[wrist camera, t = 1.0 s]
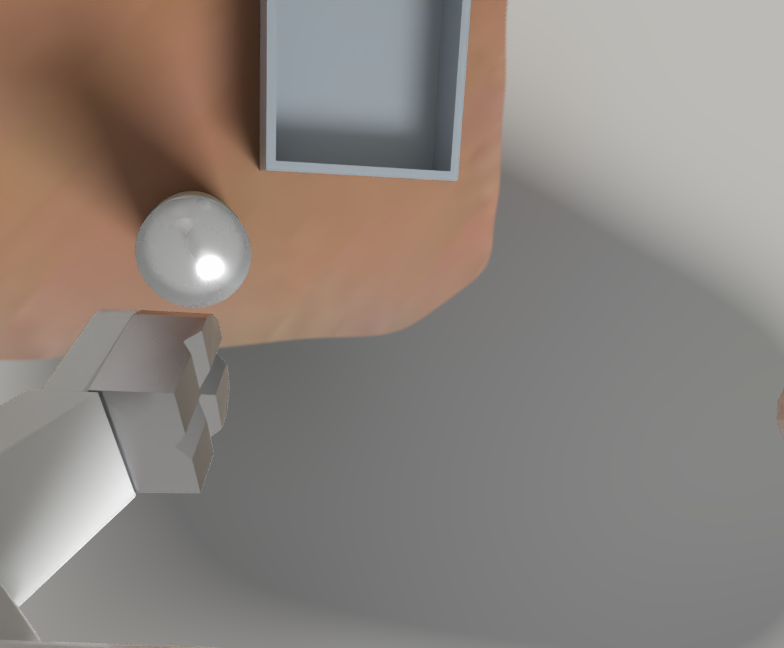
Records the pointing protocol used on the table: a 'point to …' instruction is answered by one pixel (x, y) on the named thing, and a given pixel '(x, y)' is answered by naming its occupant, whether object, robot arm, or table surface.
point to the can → (193, 250)
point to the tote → (363, 87)
